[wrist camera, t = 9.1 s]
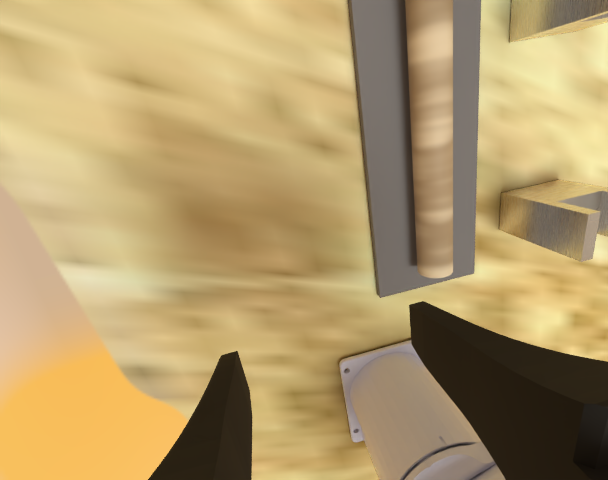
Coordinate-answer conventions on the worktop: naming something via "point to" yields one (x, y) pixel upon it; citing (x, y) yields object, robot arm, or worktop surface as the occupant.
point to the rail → (432, 131)
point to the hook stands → (556, 194)
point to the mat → (397, 137)
